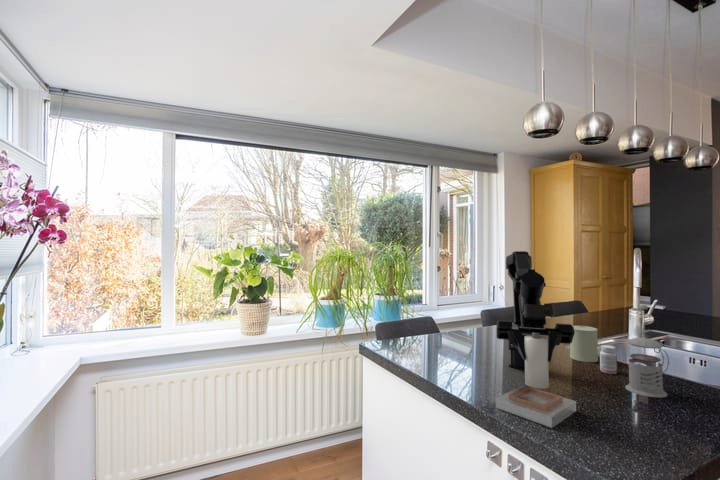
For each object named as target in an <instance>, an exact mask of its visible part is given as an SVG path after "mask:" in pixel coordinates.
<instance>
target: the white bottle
mask: <svg viewBox="0 0 720 480" xmlns="http://www.w3.org/2000/svg"><path fill="white" fill-rule="evenodd" d="M524 343H525V358H526V359H525V371H524V383H525V386H528V387H531V388H535V389H538V390H542V389H543V390H544V389H548V388H549V386H550V385H549V384H550V382H549V381H550V379H549V361H548V337H547V336H540V333H536V332H533V333H532V335H528V336H525V337H524Z"/></svg>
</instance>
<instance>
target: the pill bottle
mask: <svg viewBox="0 0 720 480" xmlns="http://www.w3.org/2000/svg"><path fill="white" fill-rule="evenodd" d="M599 370H600V371H601V372H602V373H604V374H611V375H612V374H613V375H616V374H617V373H618V355H617V353H616V347H615V346H613V345H608V344H607V345H605V344H602V345H601V346H600V352H599Z"/></svg>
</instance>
